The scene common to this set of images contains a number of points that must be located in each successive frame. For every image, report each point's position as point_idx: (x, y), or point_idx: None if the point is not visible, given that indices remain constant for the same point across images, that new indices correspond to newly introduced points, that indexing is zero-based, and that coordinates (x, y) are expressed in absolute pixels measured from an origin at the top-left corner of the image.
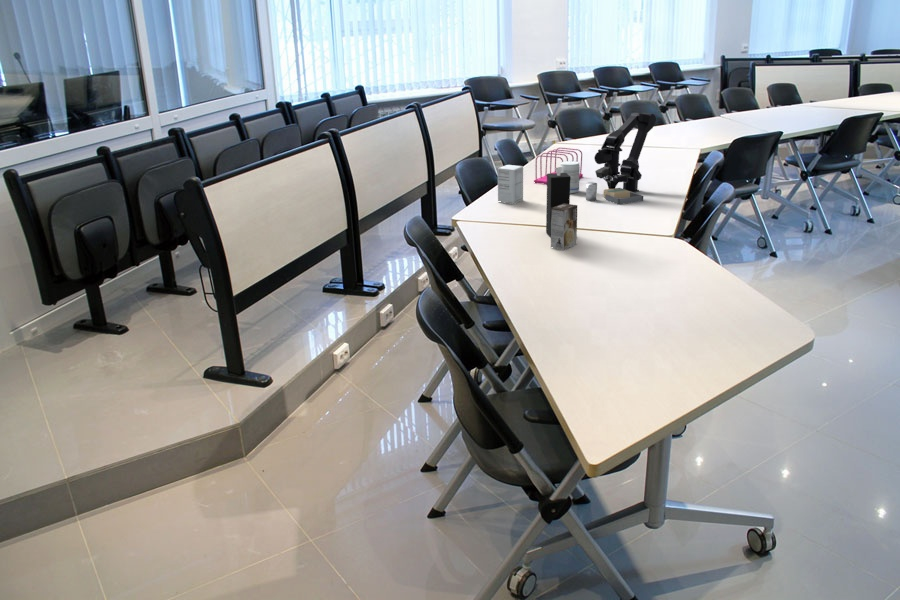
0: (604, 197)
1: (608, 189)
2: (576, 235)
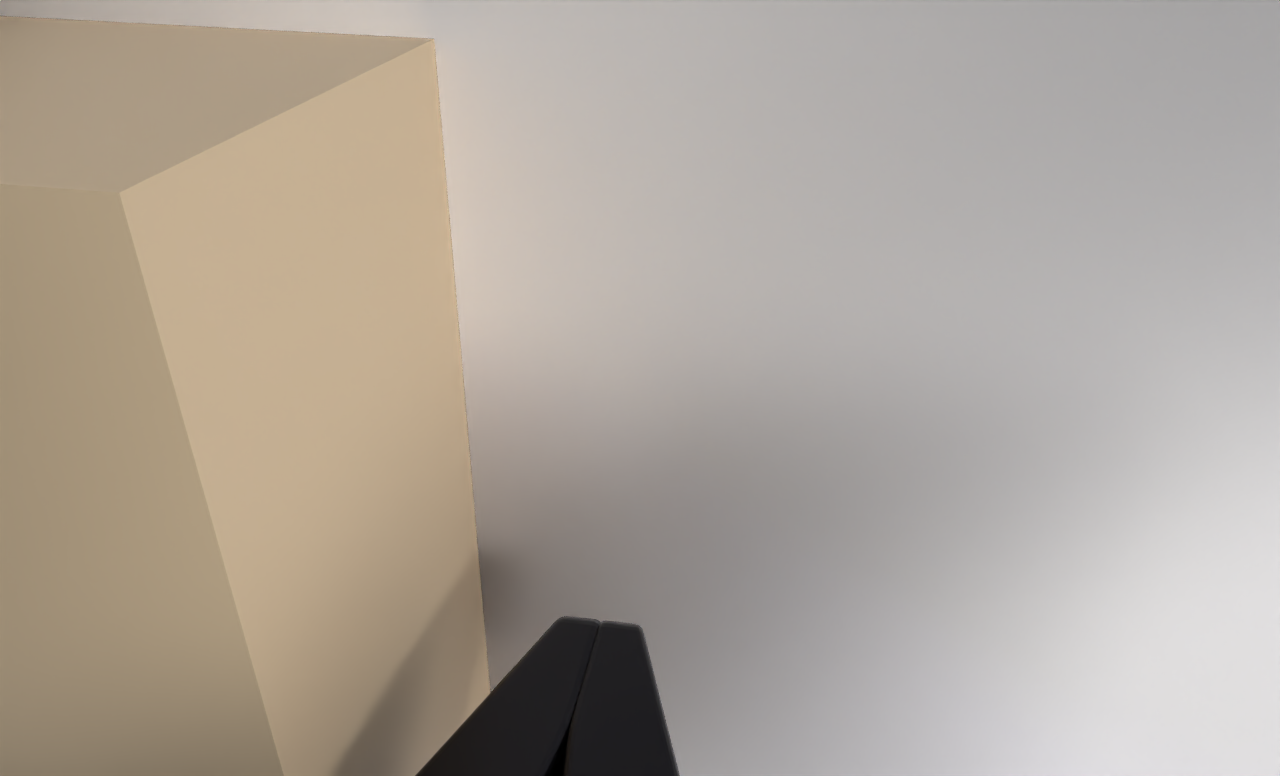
0: (303, 38)
1: (115, 567)
2: None
